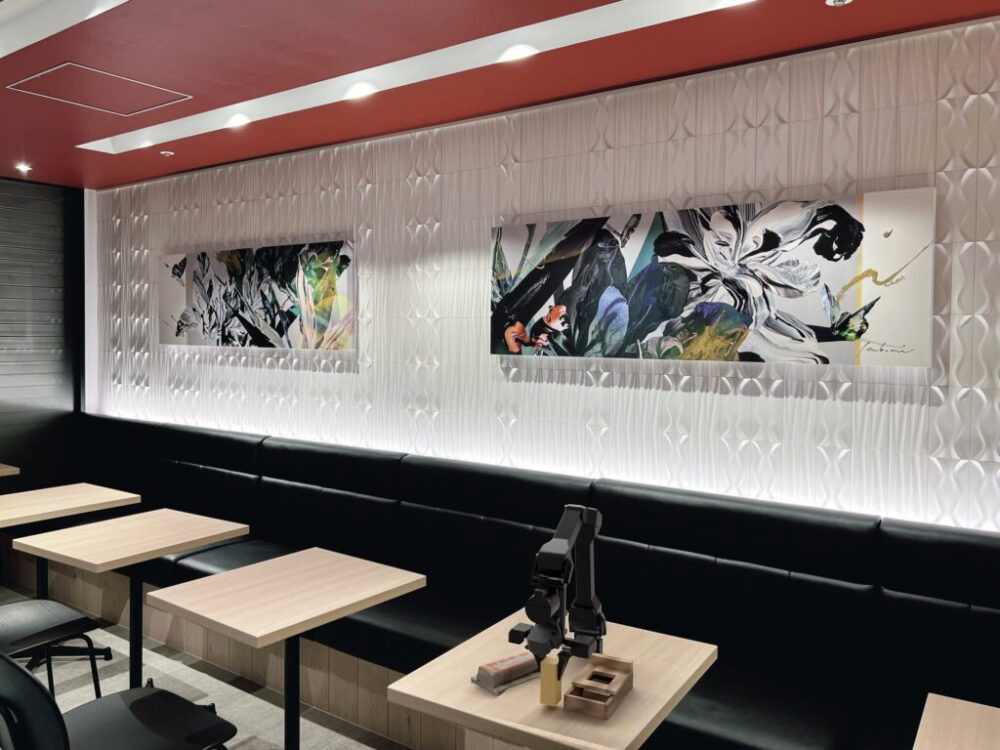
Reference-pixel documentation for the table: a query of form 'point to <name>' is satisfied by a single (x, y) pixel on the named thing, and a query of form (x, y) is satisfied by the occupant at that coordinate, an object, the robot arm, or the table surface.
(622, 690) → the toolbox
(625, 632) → the table surface
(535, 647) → the robot arm
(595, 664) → the lid
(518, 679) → the packaged product
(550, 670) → the yellow rectangular block
